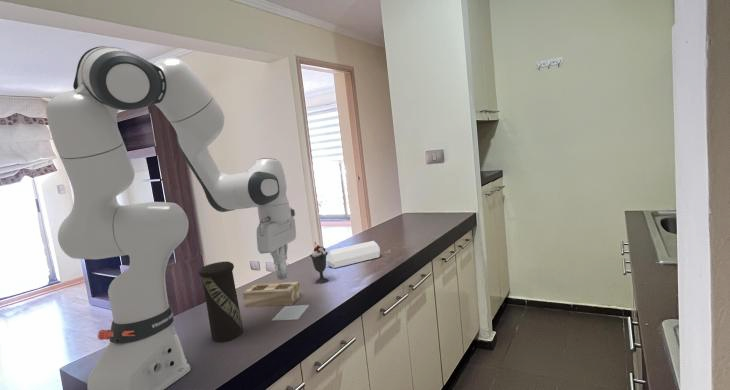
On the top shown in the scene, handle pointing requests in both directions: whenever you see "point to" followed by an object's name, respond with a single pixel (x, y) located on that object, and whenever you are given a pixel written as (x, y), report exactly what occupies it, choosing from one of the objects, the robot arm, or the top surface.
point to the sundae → (319, 262)
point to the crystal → (353, 254)
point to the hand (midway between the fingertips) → (281, 261)
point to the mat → (290, 312)
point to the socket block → (272, 294)
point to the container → (221, 301)
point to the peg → (282, 265)
